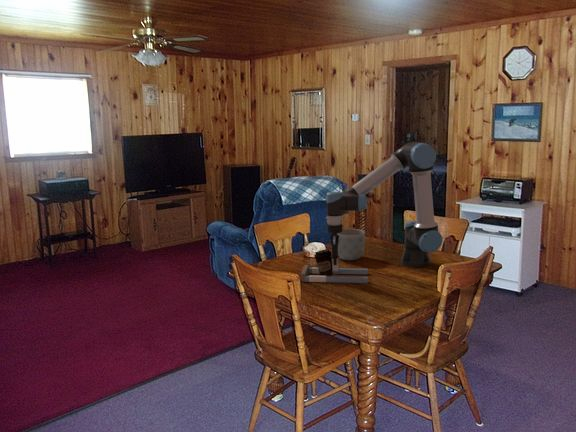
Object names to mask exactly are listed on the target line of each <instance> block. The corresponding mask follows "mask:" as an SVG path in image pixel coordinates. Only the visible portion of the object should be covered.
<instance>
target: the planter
mask: <svg viewBox="0 0 576 432" xmlns="http://www.w3.org/2000/svg"><path fill="white" fill-rule="evenodd" d="M338 235H339V243H338V256H339V257H338V259H339V258H340V260H344V261H350V262H351V261H356V260H359V259H361V258H362V256H363V254H364V253H365V252H364V251H365V239H366V231H365V230H362V229H358V228H343V231H342V232H340V233H338Z"/></svg>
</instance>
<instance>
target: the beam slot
mask: <svg viewBox="0 0 576 432" xmlns="http://www.w3.org/2000/svg"><path fill="white" fill-rule="evenodd" d="M332 272H333V276H320V273H319V269H318V267H314V266H313V267H309V264H304V266H303V267H302V270H301V273H300V282H301V281H302V282H305V283H306V282H309V283H311V282H312V283H349V284H350V283H354V284H369V277H368V276H344V275H368V274H369V269H368V268H348V267H347V268H345V267H344V268H342V267H340V268H339V267H338V271H332ZM309 274H310V275H309ZM311 274H313V275H311ZM314 274H319V275H314ZM335 275H337V276H335ZM338 275H341V276H338ZM342 275H343V276H342Z"/></svg>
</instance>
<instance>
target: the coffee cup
mask: <svg viewBox="0 0 576 432" xmlns="http://www.w3.org/2000/svg"><path fill="white" fill-rule="evenodd" d="M331 257H332V251H330V249H327V248H325V249H321V250H318V251H315V254H314V258H315V261H316V266H317V268H318V269H319V273H320V274H319V276H334V274H333V272H332V259H331Z"/></svg>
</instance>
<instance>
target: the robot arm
mask: <svg viewBox="0 0 576 432" xmlns="http://www.w3.org/2000/svg"><path fill="white" fill-rule="evenodd" d="M436 159H437V153H436V150H435V148H433V146H431V145H430V144H429V143H426V142H417V141H411V142H407V143H406V144H404V145H403V146H401V147H400V148H398V149H397V150H395V152H393V153H392V154H391V155H390V158H388V159H387V160H386V161H384V162H383V163H382V164H380V165H379V166H378V167H376V168H375V169H373V170H372V171H371V172H369V173H367V175H365V176H364V177H362V178H361V179H360V180H359V181H357V182H356V183H355V184H353V185H352V186H351V187H349V188H348V189H347V190H341V191H329V192H327V193H326V217H325V220H326V223H327V225H326V231H327V233H329V234H330V233H331V235H330V243H331V260H332V271H338V268H339V256H338V243H339V235H338V233H340V232H342V231H343V229H344V227H343V223H344V221H343V220H344V219H343V212H353V211H359V212H361V211H365V210H366V209H367V208H368V199H367V196H366V195H368V194H369V193H370V192H371V191H373V190H374V189H376V187H378V186H379V185H381V184H382V183H383V182H385V181H386V180H387V179H389V178H390V177H392V176H393V175H395V174H396V173H397V172H399V171H400V170H401V171H403V170H405V169H407V168H408V172H409V173H410V174H411V175H412V185H413V186H412V187H413V196H414V197H413V198H414V207H415V217H416V220H410V221H406V222H405V223H404V249H403V252H402V255H401V259H400V264H401V265H403V266H405V267H409V268H425V267H426V268H427V267H429V266H431V258H430V255H429V253H434V252H436V251H438V250H439V249H440V248H441V246H442V245H443V240H444V239H443V235H442V234H441V233H440V232H439V224H438V222H437V221H435V216H434V215H435V213H434V202H433V189H432V187H433V186H432V176H431V173H432V172H433V171H434V164H435V162H436Z"/></svg>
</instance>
